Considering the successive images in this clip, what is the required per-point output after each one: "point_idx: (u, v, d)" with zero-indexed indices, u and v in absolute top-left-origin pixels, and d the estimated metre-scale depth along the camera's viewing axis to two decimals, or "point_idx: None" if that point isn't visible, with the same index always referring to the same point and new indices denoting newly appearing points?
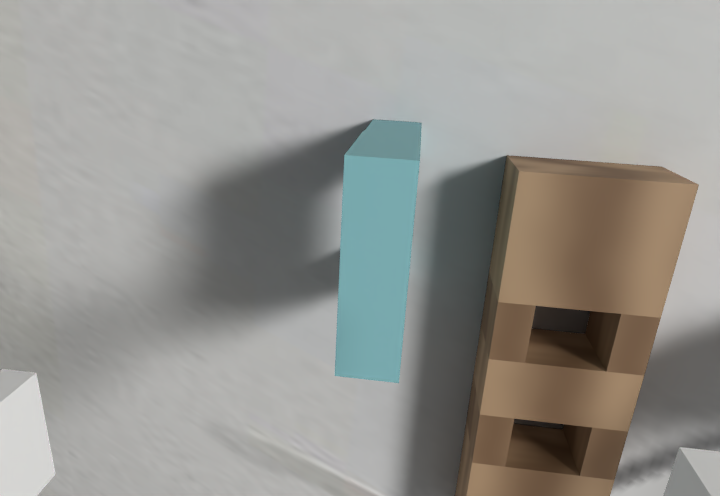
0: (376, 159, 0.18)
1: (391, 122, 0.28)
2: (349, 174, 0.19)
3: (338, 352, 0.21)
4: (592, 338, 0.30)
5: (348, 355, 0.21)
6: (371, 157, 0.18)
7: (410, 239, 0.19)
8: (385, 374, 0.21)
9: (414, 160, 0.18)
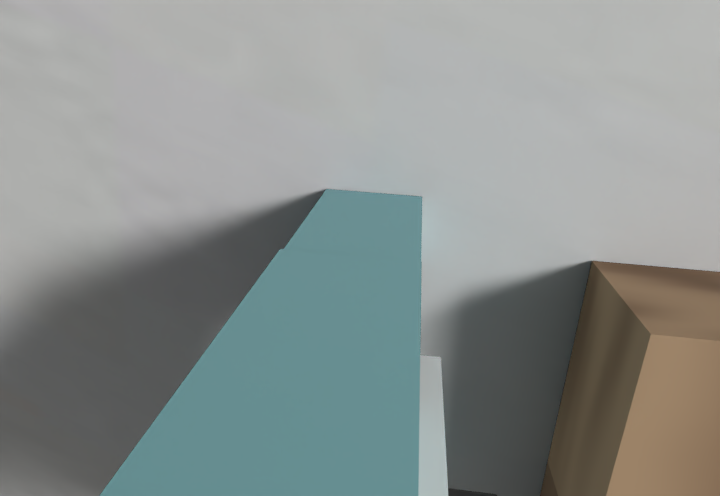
0: None
1: (361, 199, 0.14)
2: None
3: None
4: None
5: None
6: None
7: None
8: None
9: None
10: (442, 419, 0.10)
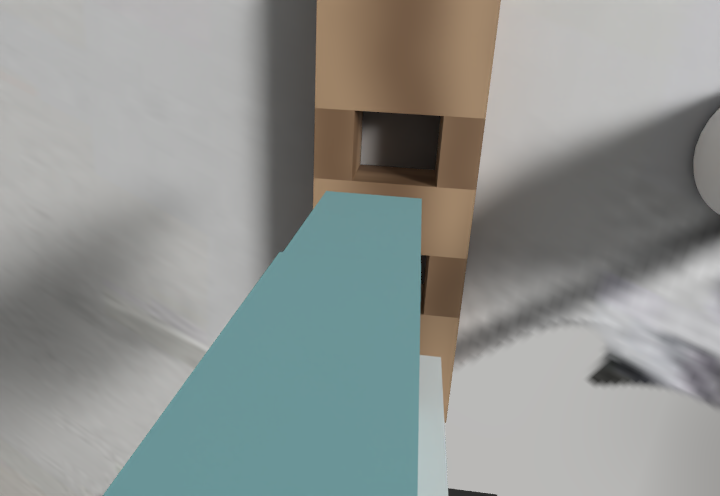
0: None
1: (360, 201, 0.14)
2: None
3: None
4: (436, 167, 0.28)
5: None
6: None
7: None
8: None
9: None
10: (442, 419, 0.10)
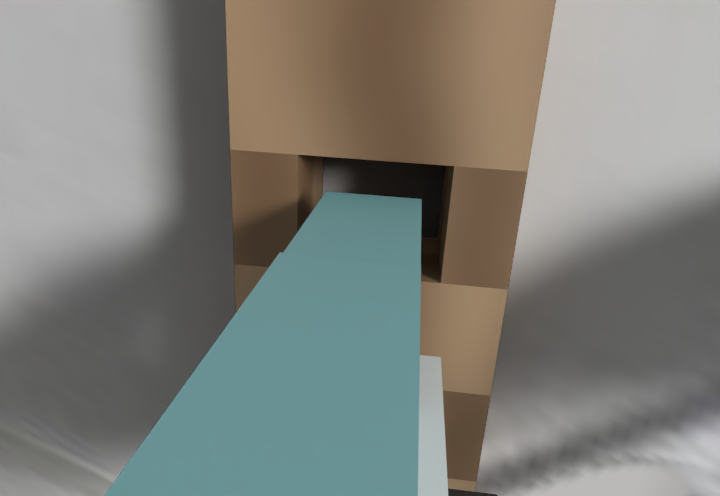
0: None
1: (360, 201, 0.14)
2: None
3: None
4: (439, 238, 0.18)
5: None
6: None
7: None
8: None
9: None
10: (442, 419, 0.10)
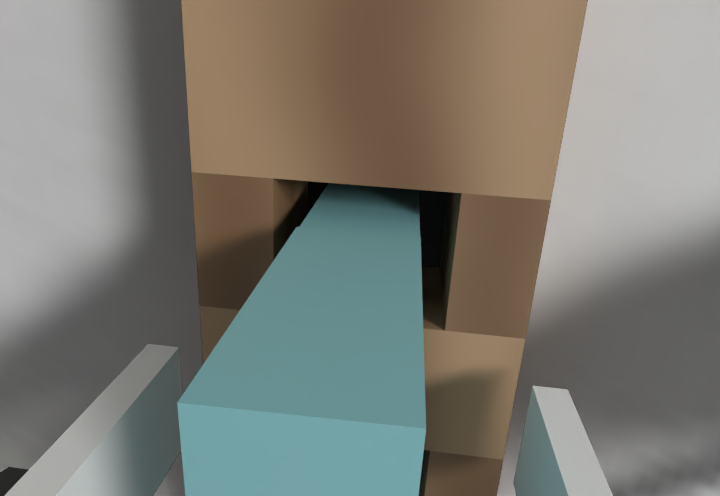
0: (281, 417, 0.06)
1: (363, 186, 0.15)
2: (200, 455, 0.06)
3: None
4: (442, 271, 0.15)
5: None
6: (265, 412, 0.06)
7: None
8: None
9: (409, 424, 0.05)
10: (598, 465, 0.09)
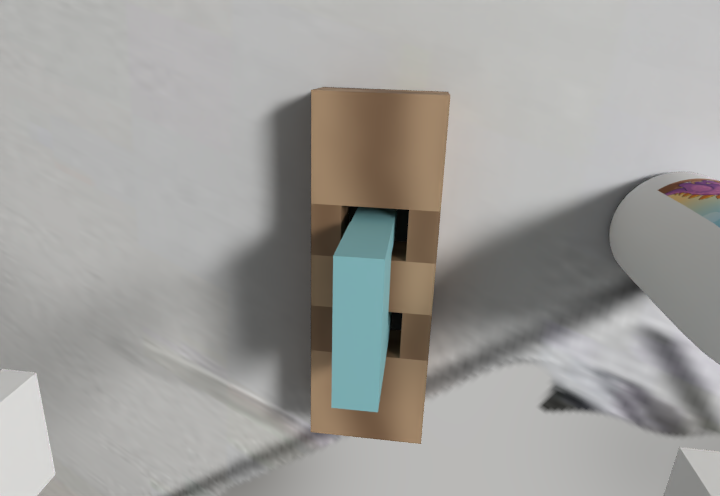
0: (355, 258, 0.26)
1: None
2: (337, 268, 0.27)
3: (333, 390, 0.29)
4: None
5: (340, 393, 0.29)
6: (351, 257, 0.26)
7: (381, 311, 0.27)
8: (368, 406, 0.29)
9: (381, 259, 0.26)
10: None
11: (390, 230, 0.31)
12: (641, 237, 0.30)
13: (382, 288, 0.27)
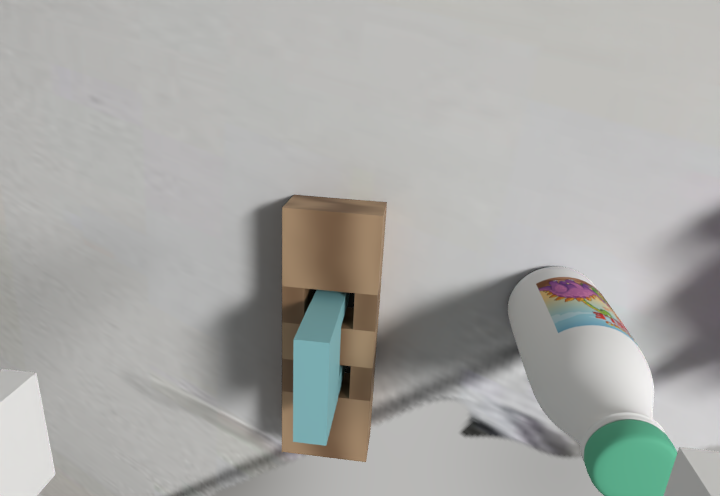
0: (308, 341, 0.38)
1: None
2: (296, 347, 0.38)
3: (294, 430, 0.41)
4: None
5: (299, 431, 0.41)
6: (306, 340, 0.38)
7: (327, 377, 0.39)
8: (319, 441, 0.41)
9: (327, 342, 0.38)
10: None
11: (338, 311, 0.42)
12: (519, 321, 0.41)
13: (328, 362, 0.38)
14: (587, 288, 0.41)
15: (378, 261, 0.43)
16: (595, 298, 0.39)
